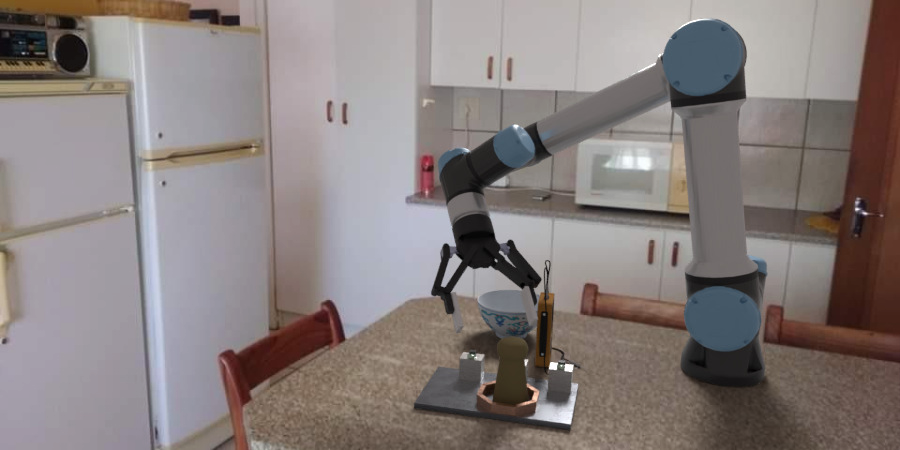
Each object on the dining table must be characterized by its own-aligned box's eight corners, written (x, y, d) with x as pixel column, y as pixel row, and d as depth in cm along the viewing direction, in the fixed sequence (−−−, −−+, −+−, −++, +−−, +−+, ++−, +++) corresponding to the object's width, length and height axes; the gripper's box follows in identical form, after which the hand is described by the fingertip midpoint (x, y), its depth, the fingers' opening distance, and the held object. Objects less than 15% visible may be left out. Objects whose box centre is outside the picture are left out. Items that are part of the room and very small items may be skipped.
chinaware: (479, 320, 163) (480, 287, 161) (546, 324, 161) (548, 291, 159) (472, 345, 148) (473, 309, 147) (546, 350, 147) (547, 314, 145)
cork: (533, 396, 123) (536, 336, 121) (521, 411, 118) (524, 348, 116) (500, 389, 126) (502, 330, 124) (487, 403, 121) (489, 342, 118)
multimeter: (587, 381, 133) (593, 277, 128) (532, 375, 134) (537, 272, 130) (588, 351, 147) (594, 256, 142) (539, 346, 149) (543, 252, 144)
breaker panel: (578, 388, 129) (579, 358, 128) (570, 429, 115) (572, 396, 113) (438, 371, 135) (438, 342, 134) (414, 408, 121) (414, 376, 119)
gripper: (526, 229, 141) (556, 328, 131) (402, 237, 134) (423, 342, 123) (538, 208, 135) (570, 310, 124) (409, 214, 128) (431, 323, 117)
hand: (497, 326), depth 124 cm, fingers open, 13 cm apart
